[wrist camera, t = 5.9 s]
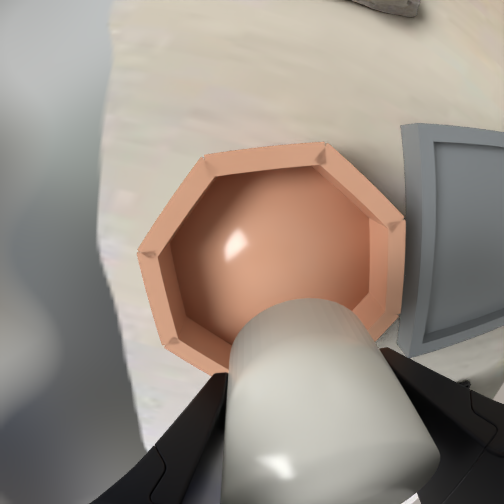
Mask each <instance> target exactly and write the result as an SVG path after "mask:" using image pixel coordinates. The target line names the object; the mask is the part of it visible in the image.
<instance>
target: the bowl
mask: <svg viewBox="0 0 504 504" xmlns="http://www.w3.org/2000/svg"><path fill="white" fill-rule="evenodd" d="M403 218H404V216H403V215H402V214H401V213H400V212H399V211H398V210H397V209H396V208H395V206H394V205H393V204H392V203H391V202H390V201H389V200H388V199H387V198H386V197H385V196H384V195H383V194H382V193H381V192H380V191H379V190H378V189H377V188H376V187H375V186H374V185H373V184H372V183H371V182H370V181H369V180H368V179H367V178H366V177H365V176H364V175H363V174H361V173H360V172H359V171H358V170H357V169H356V168H355V167H354V166H353V165H352V164H351V163H350V162H349V161H348V160H346V159H345V158H344V157H343V156H342V155H341V154H340V153H339V152H338V151H336V150H335V149H334V148H333V147H332V146H331V145H330V144H328V143H326V144H325V142H314V143H300V144H288V145H278V146H268V147H259V148H250V149H242V150H235V151H227V152H220V153H214V154H207V155H204V157H200V159H199V160H198V161H197V163H196V164H195V166H194V167H193V168H192V170H191V171H190V172H189V174H188V175H187V176H186V178H185V179H184V181H183V182H182V183H181V185H180V186H179V188H178V189H177V191H176V192H175V193H174V195H173V196H172V198H171V199H170V201H169V202H168V204H167V205H166V206H165V208H164V209H163V211H162V212H161V214H160V215H159V217H158V218H157V220H156V221H155V223H154V224H153V226H152V227H151V229H150V231H149V232H148V234H147V235H146V237H145V238H144V240H143V241H142V243H141V245H140V246H139V248H138V249H137V250H138V252H137V257H138V261H139V265H140V269H141V273H142V277H143V281H144V285H145V289H146V292H147V296H148V300H149V303H150V307H151V310H152V314H153V317H154V321H155V324H156V327H157V330H158V334H159V337H160V340H161V343H162V345H165V347H164V348H165V349H167V350H169V351H170V352H172V353H173V354H175V355H177V356H178V357H180V358H181V359H183V360H185V361H186V362H188V363H190V364H191V365H193V366H195V367H196V368H198V369H200V370H202V371H203V372H205V373H207V374H209V375H210V376H212V375H213V374H215V373H221V372H227V373H229V359H230V352H231V347H232V345H233V342H234V340H235V338H236V337H237V335H238V333H239V332H240V331H241V329H242V328H243V327H244V326H245V325H246V324H247V323H248V322H249V321H250V320H251V319H252V318H253V317H255V316H256V315H257V314H259V313H260V312H262V311H264V310H266V309H267V308H269V307H272V306H274V305H276V304H279V303H282V302H285V301H289V300H294V299H302V298H319V299H325V300H329V301H333V302H336V303H338V304H341V305H343V306H345V307H346V308H348V309H349V310H351V311H352V312H353V313H354V314H355V315H357V316H358V318H359V319H360V320H361V322H362V323H363V325H364V326H365V328H366V329H367V331H368V332H369V334H370V335H371V337H372V339H373V340H374V342H375V341H376V340H377V339H378V338H379V337H380V336H381V335H382V334H383V333H384V332H385V331H386V330H387V329H388V328H389V327H390V326H391V325H392V323H393V322H394V321H395V320H396V319H397V318H398V317H399V315H398V314H400V313H401V304H402V293H403V280H404V264H405V236H406V220H404V219H403Z"/></svg>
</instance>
